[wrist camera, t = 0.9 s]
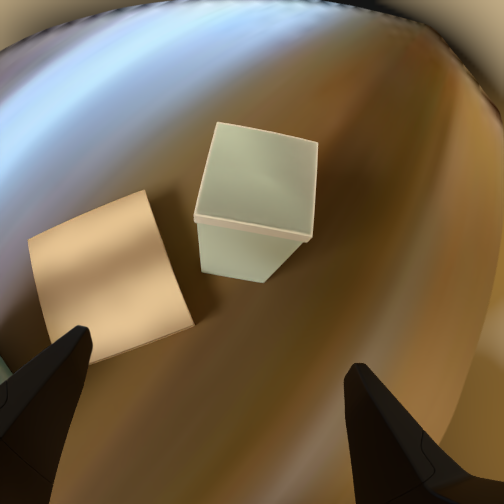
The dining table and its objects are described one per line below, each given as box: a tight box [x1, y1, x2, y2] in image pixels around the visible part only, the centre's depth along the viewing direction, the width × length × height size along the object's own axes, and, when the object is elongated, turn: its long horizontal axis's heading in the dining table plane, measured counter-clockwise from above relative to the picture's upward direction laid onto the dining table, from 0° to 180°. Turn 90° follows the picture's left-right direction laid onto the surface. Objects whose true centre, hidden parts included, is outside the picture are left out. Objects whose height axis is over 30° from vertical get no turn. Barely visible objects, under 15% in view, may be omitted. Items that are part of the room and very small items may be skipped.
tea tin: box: [194, 122, 318, 283], centre depth 20 cm, size 5×5×12 cm
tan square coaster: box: [28, 190, 195, 365], centre depth 22 cm, size 11×11×3 cm
